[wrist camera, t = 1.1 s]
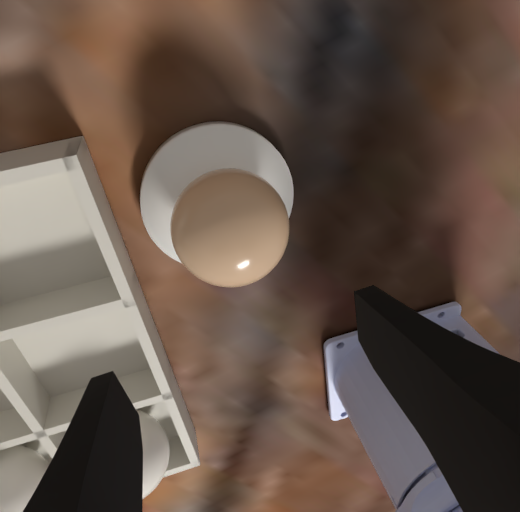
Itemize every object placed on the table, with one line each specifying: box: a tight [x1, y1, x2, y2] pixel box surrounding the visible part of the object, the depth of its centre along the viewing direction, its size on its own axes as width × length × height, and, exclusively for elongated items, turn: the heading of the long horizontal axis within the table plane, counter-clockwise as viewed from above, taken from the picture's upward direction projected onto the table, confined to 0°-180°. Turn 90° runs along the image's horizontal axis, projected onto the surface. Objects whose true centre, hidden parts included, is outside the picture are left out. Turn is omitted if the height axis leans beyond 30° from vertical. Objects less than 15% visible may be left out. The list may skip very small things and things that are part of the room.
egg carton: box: [0, 136, 200, 477], centre depth 21 cm, size 14×20×2 cm
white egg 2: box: [136, 410, 170, 499], centre depth 23 cm, size 5×5×5 cm
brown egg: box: [170, 168, 289, 287], centre depth 17 cm, size 5×5×5 cm
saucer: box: [140, 121, 294, 263], centre depth 19 cm, size 7×7×1 cm
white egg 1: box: [0, 445, 49, 512], centre depth 22 cm, size 5×5×5 cm
